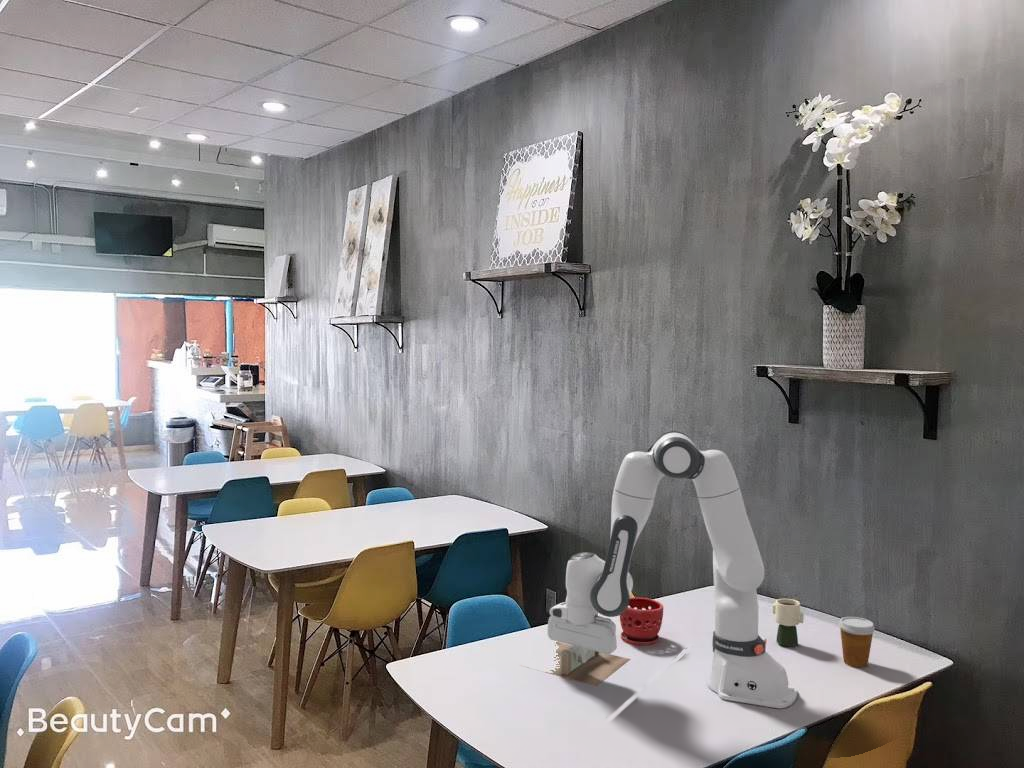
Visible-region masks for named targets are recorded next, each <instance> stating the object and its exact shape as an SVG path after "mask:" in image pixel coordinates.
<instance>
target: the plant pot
mask: <svg viewBox="0 0 1024 768" xmlns="http://www.w3.org/2000/svg"><path fill="white" fill-rule="evenodd" d="M649 607H650V608H649ZM663 616H664V605H663V603H661V602H660V601H657V600H654V599H651V598H646V597H630V598H629V605H628V607H627V609H626V611H625V612H624V613H622V614H621V615H619V621H620V626H621V629H622V632H621V633H620V638H621V640H622V641H623V642H624V643H627V644H630V645H634V646H643V647H644V646H651V645H655V644H657V643H658V642H659V640H660V636H659V633H660V631H661V628H662V623H663Z"/></svg>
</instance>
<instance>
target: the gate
mask: <svg viewBox="0 0 1024 768" xmlns="http://www.w3.org/2000/svg"><path fill="white" fill-rule="evenodd" d="M580 651H581V653H582V654H583V653H584V652H583V651H582V648H581V647H580ZM593 656H595V651H593V650H590V652H589V653H588V655H587V660H589V659H590V658H592V657H593ZM581 664H583V663H581V662H577V661H576V654H575V652H574V650H573V647H571V648H570V649H568V650H564V651H562V652H561V673H563V674H566V675H568V674H569V673H571V671H573V670H574V669H575V668H577V667H578V666H580V665H581Z"/></svg>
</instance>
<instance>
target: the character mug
mask: <svg viewBox="0 0 1024 768" xmlns="http://www.w3.org/2000/svg"><path fill="white" fill-rule="evenodd" d="M772 614H774V615H775V618H774V619H775V622H776V623H777V624H778V627H777V632H776V638H775V639H776V643H778V645H781V646H790V647H792V646H797V645H799V639H798V631H797V626H798V625H799V624H803V623H804V618H805V617H804V615H805V614H804V612H802V611H801V602H800V601H798V600H797V599H793V598H792V599H791V598H779V599H776V600H775V603H772Z"/></svg>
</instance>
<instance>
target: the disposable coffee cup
mask: <svg viewBox="0 0 1024 768" xmlns="http://www.w3.org/2000/svg"><path fill="white" fill-rule="evenodd" d="M838 627H839V629H840V636H841V637H840V639H841V648H842V657H843V659H842V660H843V663H844V664H845V665H847V666H849V667H852V668H860V669H861V668H866V667H868V665H869V659H870V653H871V647H872V641H873V635H874V632H875V629H876V627H875V626H874V623H873V621H871V620H869V619H866V618H863V617H857V616H845V617H841V618H840V620H839V622H838Z"/></svg>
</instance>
